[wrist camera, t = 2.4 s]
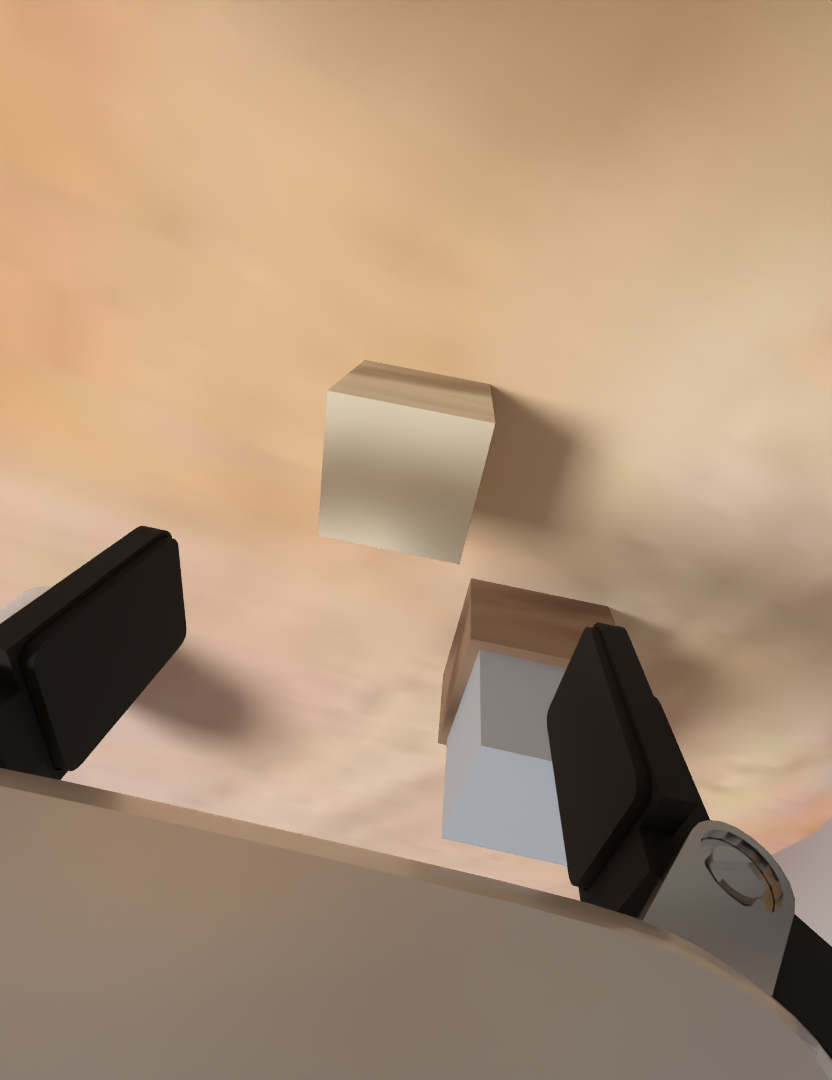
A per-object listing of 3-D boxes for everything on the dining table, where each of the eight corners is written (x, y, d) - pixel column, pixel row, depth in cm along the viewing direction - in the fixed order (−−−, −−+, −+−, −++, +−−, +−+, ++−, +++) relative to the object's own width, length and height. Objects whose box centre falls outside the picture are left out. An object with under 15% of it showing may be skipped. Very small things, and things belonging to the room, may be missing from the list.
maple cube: (365, 359, 20) (327, 390, 15) (490, 384, 20) (495, 423, 15) (353, 476, 23) (318, 535, 18) (462, 497, 23) (459, 564, 18)
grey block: (479, 649, 21) (481, 745, 17) (618, 680, 21) (655, 784, 17) (447, 738, 25) (441, 838, 20) (567, 765, 25) (587, 870, 20)
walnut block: (471, 576, 25) (470, 638, 21) (607, 604, 25) (634, 672, 21) (443, 673, 29) (437, 743, 25) (561, 697, 29) (576, 772, 25)
